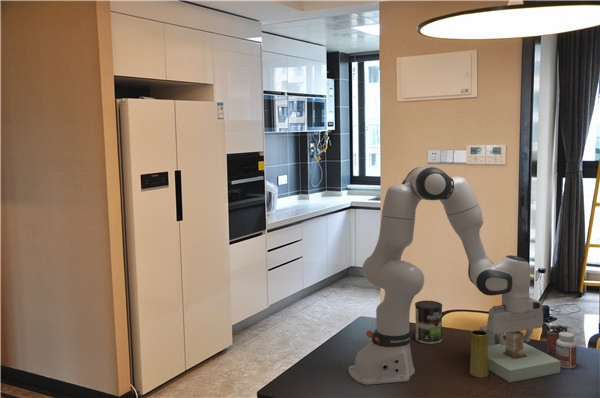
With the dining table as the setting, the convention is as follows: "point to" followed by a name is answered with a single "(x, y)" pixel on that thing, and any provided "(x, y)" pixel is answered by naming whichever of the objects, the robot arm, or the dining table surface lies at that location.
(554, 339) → the lighter
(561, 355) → the pill bottle
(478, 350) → the vase
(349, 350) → the dining table surface
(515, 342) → the long peg
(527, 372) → the socket plate
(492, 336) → the short peg
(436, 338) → the coffee can
